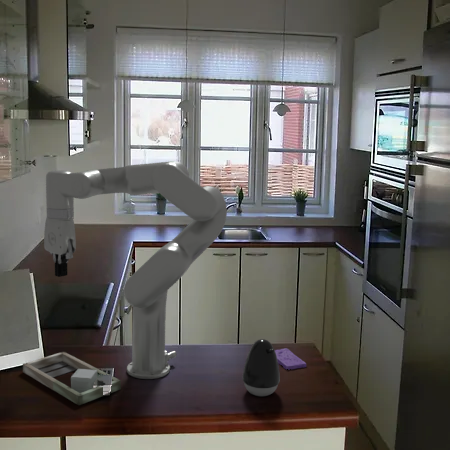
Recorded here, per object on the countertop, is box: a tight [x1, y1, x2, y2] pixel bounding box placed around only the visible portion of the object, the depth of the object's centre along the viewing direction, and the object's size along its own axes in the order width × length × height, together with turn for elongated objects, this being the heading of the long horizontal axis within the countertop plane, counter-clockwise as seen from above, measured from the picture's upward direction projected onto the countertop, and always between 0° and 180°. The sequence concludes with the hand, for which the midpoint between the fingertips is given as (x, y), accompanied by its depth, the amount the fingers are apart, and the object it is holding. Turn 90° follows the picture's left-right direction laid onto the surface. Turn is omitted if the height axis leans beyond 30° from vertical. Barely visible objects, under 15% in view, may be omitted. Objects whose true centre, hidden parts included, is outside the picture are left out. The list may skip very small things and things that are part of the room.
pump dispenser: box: [242, 338, 281, 397], centre depth 158 cm, size 10×10×15 cm
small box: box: [70, 369, 97, 393], centre depth 156 cm, size 6×6×5 cm
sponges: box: [274, 347, 307, 371], centre depth 181 cm, size 7×13×2 cm, turn 23°
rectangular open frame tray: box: [22, 351, 122, 406], centre depth 162 cm, size 13×28×2 cm, turn 48°
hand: (61, 275), depth 169 cm, fingers closed
